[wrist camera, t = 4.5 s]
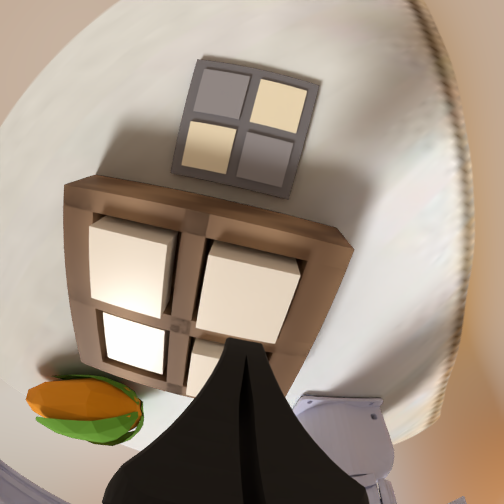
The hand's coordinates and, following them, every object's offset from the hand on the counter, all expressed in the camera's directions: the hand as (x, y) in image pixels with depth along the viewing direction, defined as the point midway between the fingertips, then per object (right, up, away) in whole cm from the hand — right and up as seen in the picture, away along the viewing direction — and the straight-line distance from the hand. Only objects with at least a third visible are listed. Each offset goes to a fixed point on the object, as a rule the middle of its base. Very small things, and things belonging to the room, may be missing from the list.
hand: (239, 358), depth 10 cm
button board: (-4, +1, +9) cm, 9 cm away
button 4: (-6, +4, +5) cm, 9 cm away
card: (0, +11, +4) cm, 12 cm away
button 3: (-8, -1, +9) cm, 12 cm away
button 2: (0, +2, +5) cm, 6 cm away
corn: (-19, -11, +15) cm, 26 cm away
